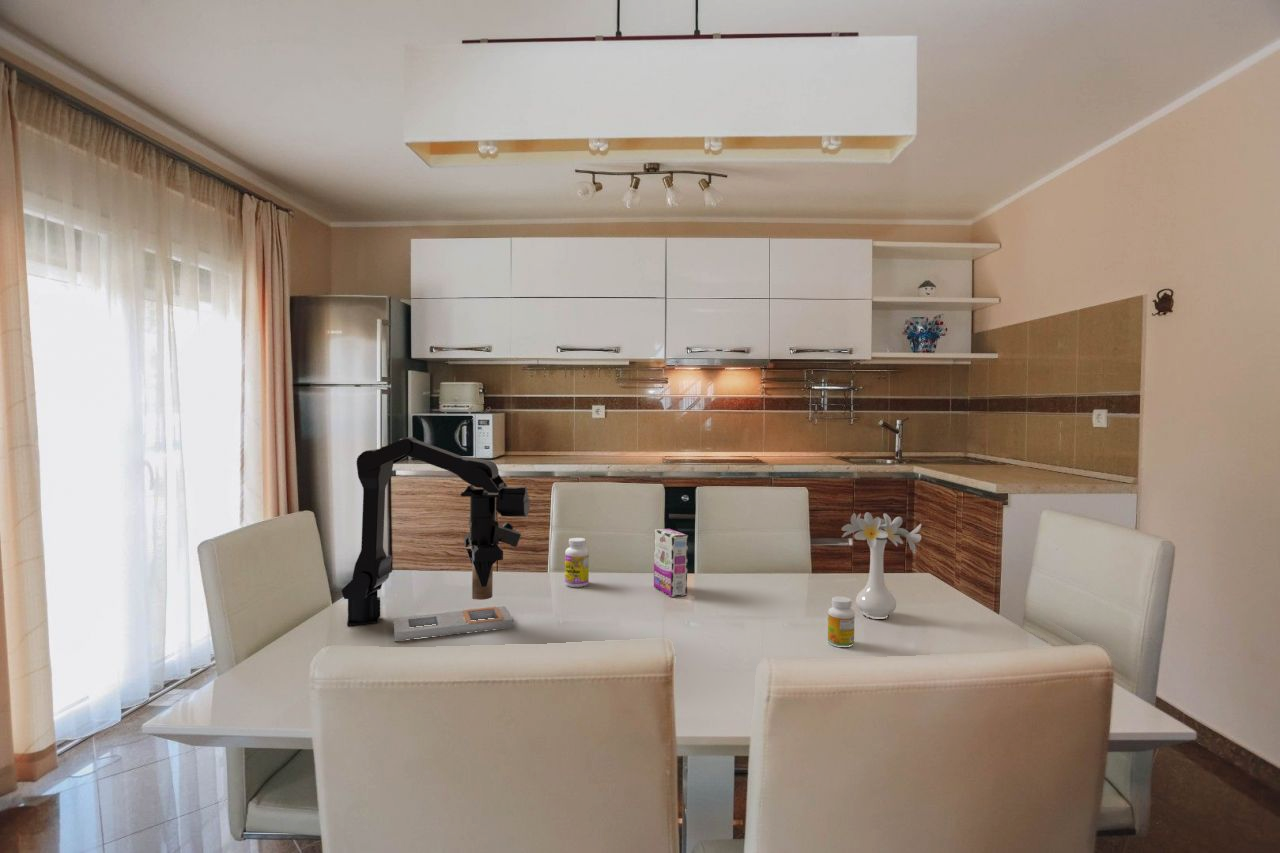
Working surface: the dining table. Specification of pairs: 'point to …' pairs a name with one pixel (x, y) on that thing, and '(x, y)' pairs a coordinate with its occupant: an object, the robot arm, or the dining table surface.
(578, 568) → the supplement bottle
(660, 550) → the candy bar box
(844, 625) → the supplement bottle
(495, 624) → the gray peg socket board
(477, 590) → the walnut peg
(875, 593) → the flower vase
